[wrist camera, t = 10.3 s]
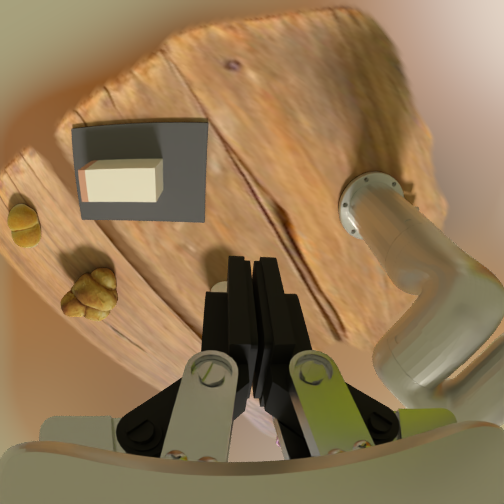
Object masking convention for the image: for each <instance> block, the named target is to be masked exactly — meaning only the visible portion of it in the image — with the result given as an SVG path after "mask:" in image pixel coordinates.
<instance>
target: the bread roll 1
mask: <svg viewBox="0 0 504 504" xmlns="http://www.w3.org/2000/svg"><path fill="white" fill-rule="evenodd" d="M8 226H9V228H10V229H11V232H12V238H13V240H14V242H15V243H16V244H17V245H18V246H20V247H24V248H32V247H36V246H37V245H38V243H39V241H40V239H41V228H40V224H39V221H38V216H37V214H36V212H35V211H34V210H33V209H32V208H30V207H28V206H27V205H25V204H17V205H16V206H14V207H13V208H12V209H11V211H10V212H9V215H8Z"/></svg>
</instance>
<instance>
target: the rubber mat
mask: <svg viewBox="0 0 504 504" xmlns="http://www.w3.org/2000/svg"><path fill="white" fill-rule="evenodd" d="M71 131H72V146H73V158H74V168H75V177H76V184H77V192H78V199H79V205H80V211H81V217H82V220H136V221H172V222H200V223H204V222H205V188H206V160H207V139H208V123H202V122H155V123H130V124H114V125H101V126H91V127H81V128H73V129H71ZM116 159H163V191H162V193H161V195H160V197H159V198H158V200H157V202H82V199H81V192H80V184H79V176H78V170H79V169H80V168H82V167H83V166H85V165H86V164H88V163H89V162H90V161H94V160H116Z"/></svg>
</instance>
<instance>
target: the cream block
mask: <svg viewBox="0 0 504 504" xmlns="http://www.w3.org/2000/svg"><path fill="white" fill-rule="evenodd" d="M78 176H79V184H80V192H81V199H82V202H157V200H158V198H159V197H160V195H161V193H162V191H163V159H116V160H94V161H90V162H89V163H88V164H86V165H85V166H83V167H82V168H80V169H79V170H78Z"/></svg>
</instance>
